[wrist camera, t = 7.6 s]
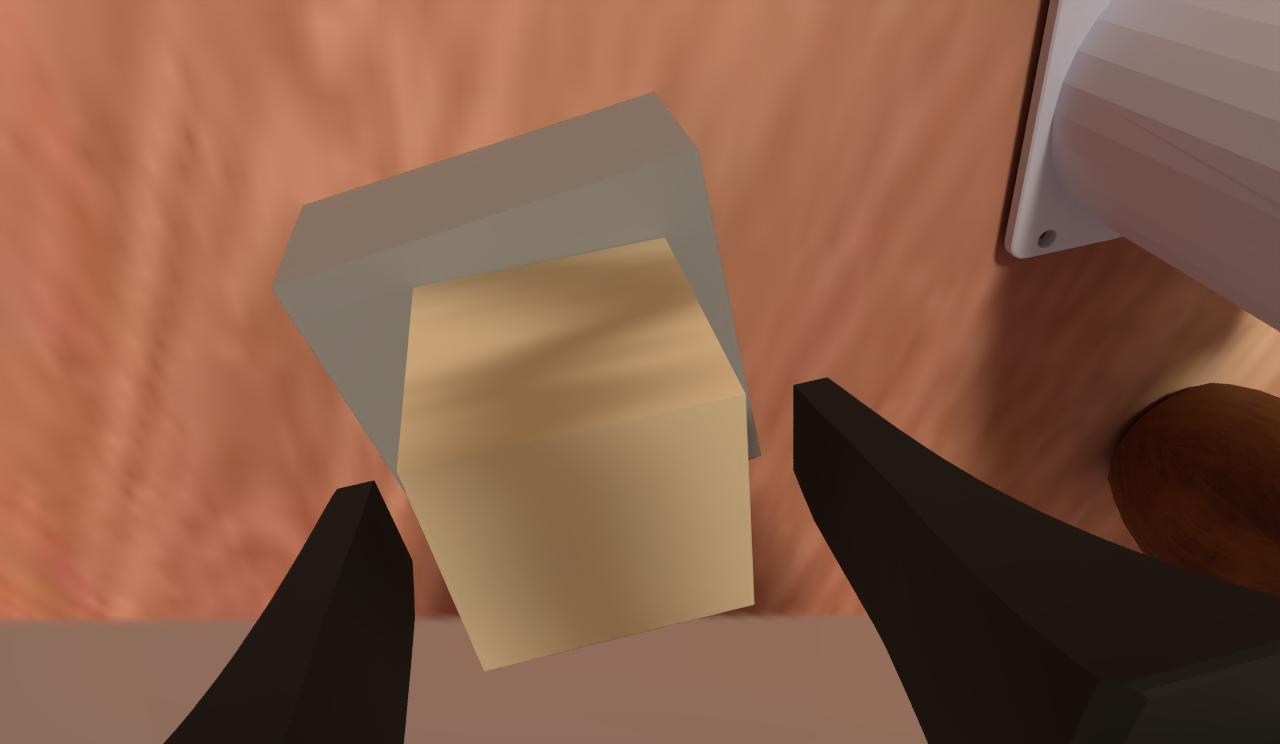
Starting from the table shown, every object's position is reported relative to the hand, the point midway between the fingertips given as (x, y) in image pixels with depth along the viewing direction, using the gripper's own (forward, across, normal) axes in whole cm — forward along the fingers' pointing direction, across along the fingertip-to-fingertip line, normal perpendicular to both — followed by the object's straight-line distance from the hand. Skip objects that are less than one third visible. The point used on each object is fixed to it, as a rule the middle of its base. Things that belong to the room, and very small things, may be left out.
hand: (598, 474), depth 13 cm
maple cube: (+3, 0, 0) cm, 3 cm away
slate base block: (+7, 0, 0) cm, 7 cm away
